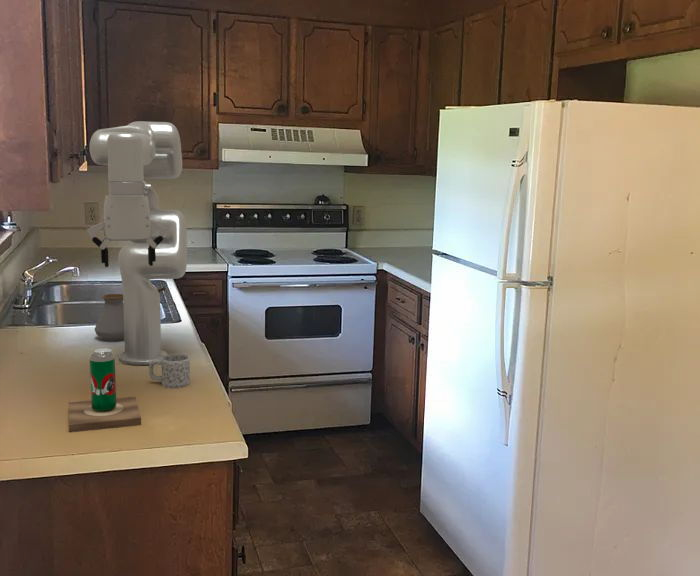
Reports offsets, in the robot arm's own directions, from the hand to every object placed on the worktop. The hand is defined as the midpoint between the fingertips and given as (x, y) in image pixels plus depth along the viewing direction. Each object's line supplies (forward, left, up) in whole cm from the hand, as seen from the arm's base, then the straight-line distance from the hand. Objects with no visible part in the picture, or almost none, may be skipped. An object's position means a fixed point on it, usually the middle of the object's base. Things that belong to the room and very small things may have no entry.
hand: (128, 265), depth 168 cm
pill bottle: (-9, -6, -31) cm, 32 cm away
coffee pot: (-53, +4, -31) cm, 61 cm away
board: (+14, -7, -30) cm, 34 cm away
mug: (-5, +9, -31) cm, 32 cm away
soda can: (+14, -7, -29) cm, 33 cm away
